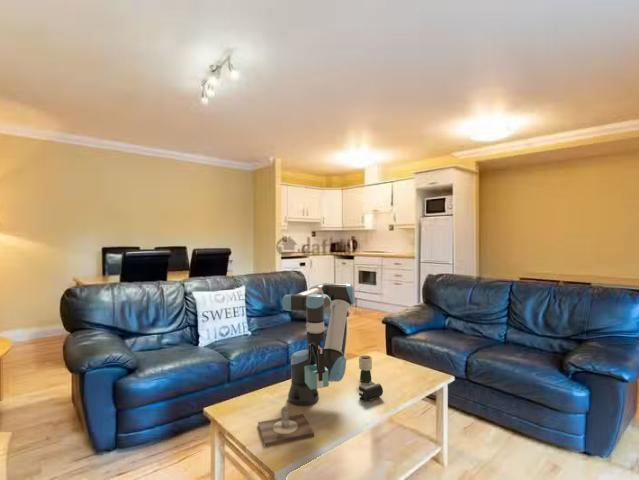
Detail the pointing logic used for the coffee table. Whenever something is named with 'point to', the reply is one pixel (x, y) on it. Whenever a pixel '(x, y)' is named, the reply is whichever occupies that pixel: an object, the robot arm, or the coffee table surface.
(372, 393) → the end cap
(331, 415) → the coffee table surface
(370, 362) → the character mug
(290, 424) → the post stand
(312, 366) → the teal ring
